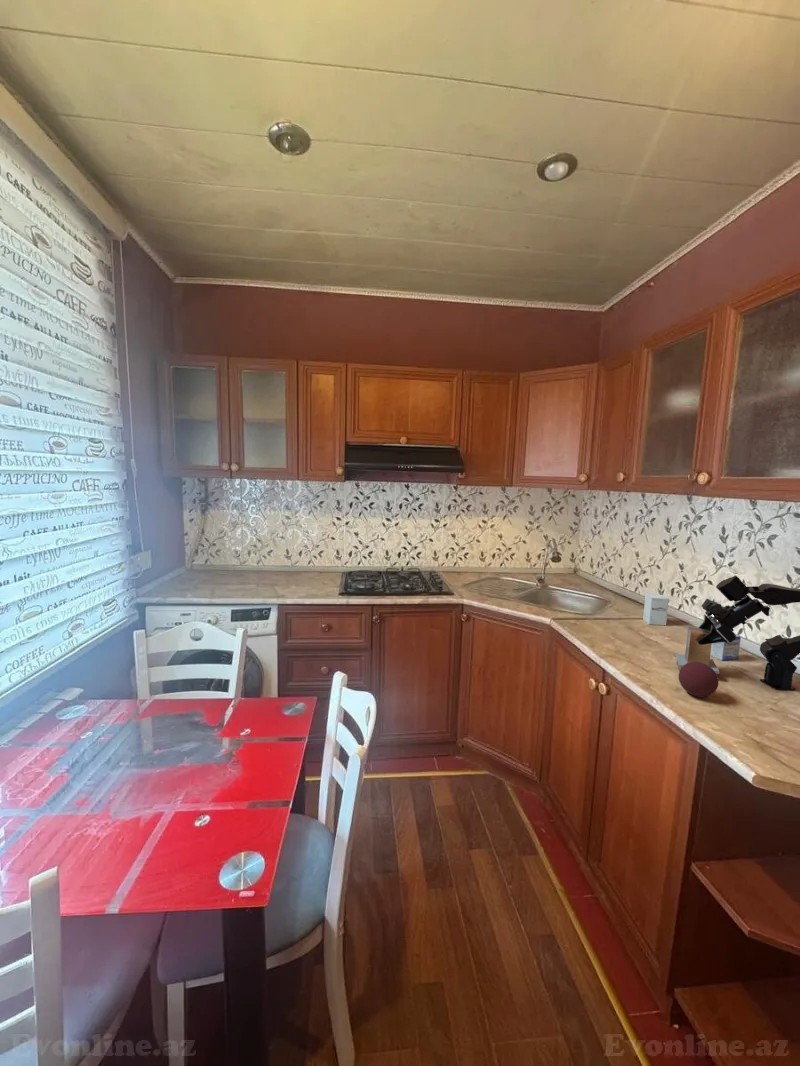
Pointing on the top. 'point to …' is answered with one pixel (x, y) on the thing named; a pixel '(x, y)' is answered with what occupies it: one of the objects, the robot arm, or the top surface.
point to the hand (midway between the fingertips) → (696, 639)
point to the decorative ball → (698, 679)
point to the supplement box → (655, 609)
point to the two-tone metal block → (697, 646)
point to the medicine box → (726, 649)
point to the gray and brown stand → (682, 661)
